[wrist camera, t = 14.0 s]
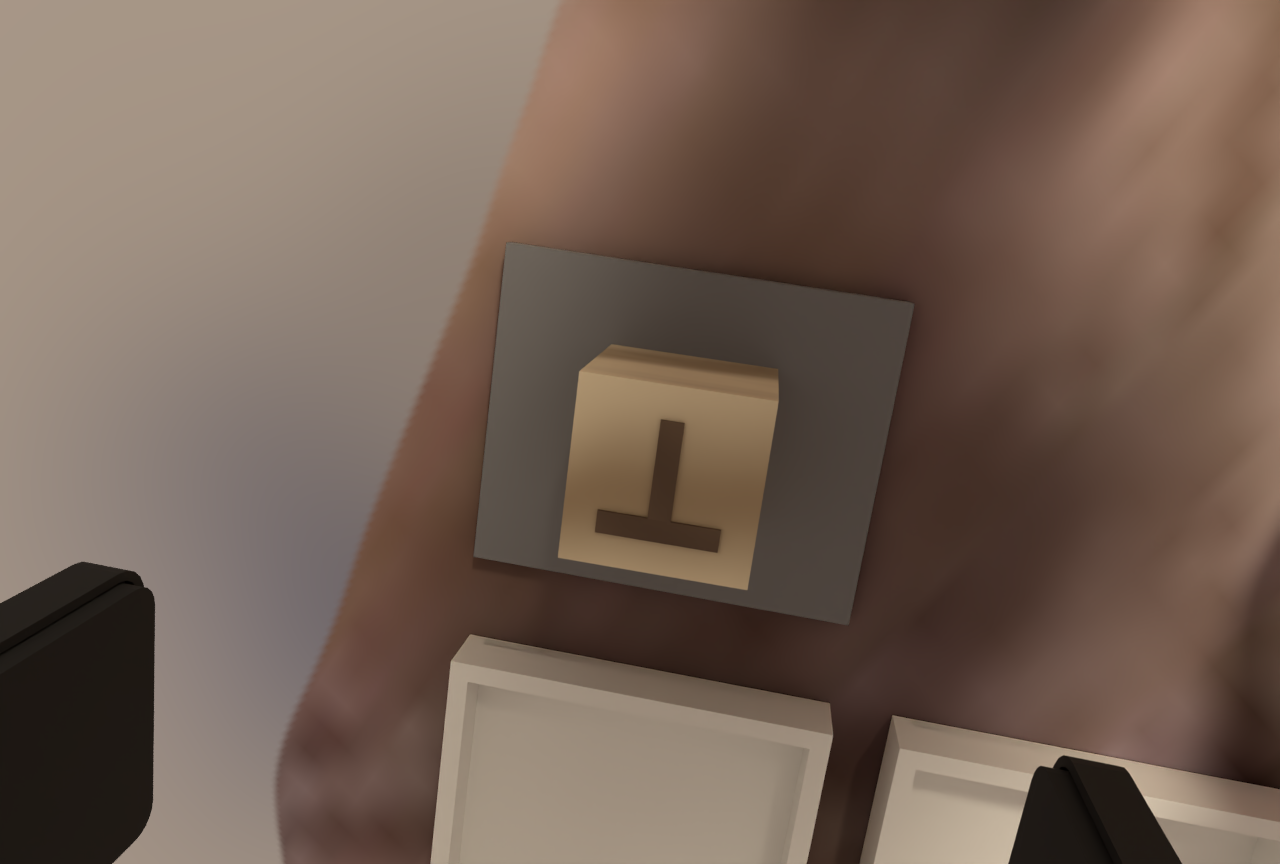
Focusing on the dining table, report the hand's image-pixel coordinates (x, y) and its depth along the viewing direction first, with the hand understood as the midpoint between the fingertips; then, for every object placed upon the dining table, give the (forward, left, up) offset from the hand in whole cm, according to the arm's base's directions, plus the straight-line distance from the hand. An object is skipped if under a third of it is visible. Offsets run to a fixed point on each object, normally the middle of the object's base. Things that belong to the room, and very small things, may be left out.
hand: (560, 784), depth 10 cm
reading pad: (+1, -1, -21) cm, 21 cm away
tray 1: (+15, -1, -21) cm, 26 cm away
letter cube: (+1, 0, -20) cm, 20 cm away
